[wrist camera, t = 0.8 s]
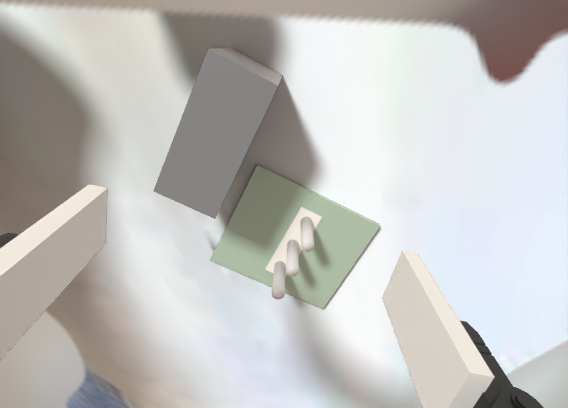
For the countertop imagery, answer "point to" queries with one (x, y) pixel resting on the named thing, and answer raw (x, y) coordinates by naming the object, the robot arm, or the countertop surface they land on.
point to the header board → (292, 239)
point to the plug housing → (216, 129)
